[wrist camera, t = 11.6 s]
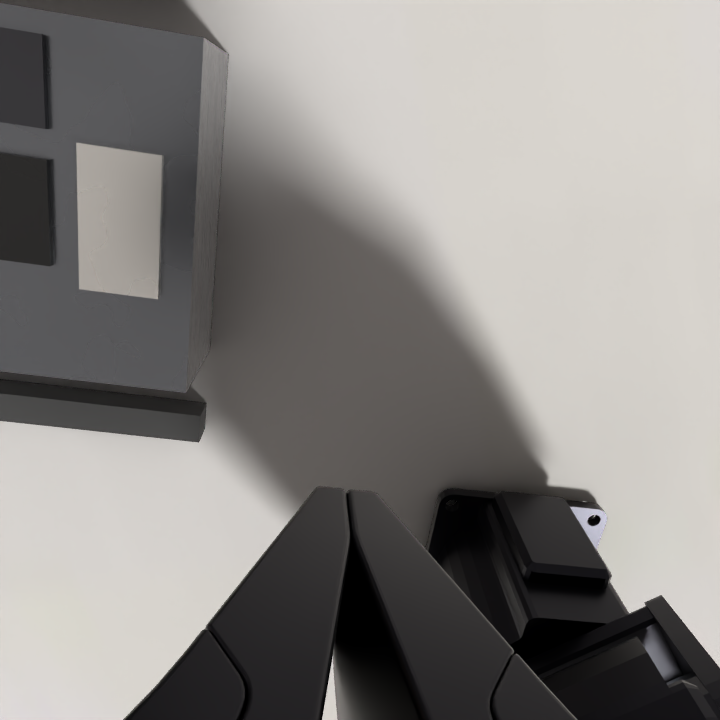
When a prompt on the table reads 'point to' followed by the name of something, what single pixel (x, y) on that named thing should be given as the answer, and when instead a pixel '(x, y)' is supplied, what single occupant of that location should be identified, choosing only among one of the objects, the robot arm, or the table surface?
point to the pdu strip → (107, 198)
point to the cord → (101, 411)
